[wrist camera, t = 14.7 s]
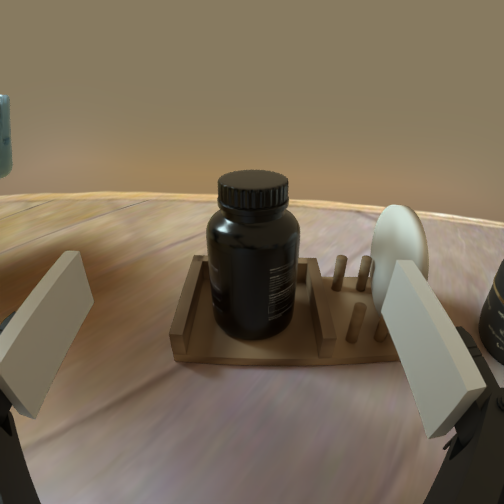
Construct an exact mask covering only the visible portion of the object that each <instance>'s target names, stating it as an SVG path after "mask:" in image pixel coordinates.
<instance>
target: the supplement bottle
mask: <svg viewBox="0 0 504 504" xmlns="http://www.w3.org/2000/svg"><path fill="white" fill-rule="evenodd" d="M217 201H218V207H219V208H220V210H219V211H217V212H216V213H215V214H214V215H213V216H212V217H211V219H210V220H209V222H208V225H207V228H206V239H207V252H208V264H209V276H210V287H211V297H212V306H213V314H214V318H215V321H216V323H217V324H218V326H219V327H220V328H221V329H222V330H223V331H224V332H226V333H227V334H229V335H231V336H233V337H236V338H239V339H243V340H263V339H268V338H271V337H273V336H276V335H278V334H279V333H281V332H282V331H284V330H285V329H286V328H287V327H288V325H289V324H290V322H291V320H292V317H293V312H294V304H295V293H296V282H297V270H298V258H299V245H300V226H299V223H298V221H297V220H296V218H295V217H294V215H293V214H292V213H291V212H289V211H288V210H287V209H286V208H287V207H288V204H289V197H288V178H286V177H285V176H284V175H282V174H279V173H275V172H271V171H265V170H241V171H234V172H230V173H227V174H224V175H223V176H221V177H220V178H219V180H218V198H217Z"/></svg>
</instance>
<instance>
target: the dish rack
mask: <svg viewBox="0 0 504 504" xmlns="http://www.w3.org/2000/svg"><path fill="white" fill-rule="evenodd" d="M396 260H413V262H414V263H415V265H416V266H417V267H418V269H419V270H420V272H421V273H422V275H423V276H424V278H425V280H426V281H427V280H428V270H429V256H428V246H427V240H426V235H425V232H424V229H423V226H422V223H421V221H420V219H419V217H418V216H417V214H416V213H415V212H414V210H412V209H411V208H410V207H408V206H403V205H390V206H388V207H386V208H385V209H384V210H383V212H382V213H381V215H380V217H379V219H378V221H377V224H376V227H375V230H374V234H373V239H372V246H371V255H370V256H363V257H362V260H361V265H360V270H359V274H358V277H344V274H345V269H346V263H347V257H346V256H344V255H338V256H337V259H336V265H335V271H334V276H333V277H321V273H320V270H319V266H318V262H317V259H316V258H298V270H297V282H296V293H295V304H294V312H293V317H292V320H291V322H290V324H289V325H288V327H287V328H286V329H285V330H284V331H282V332H281V333H279V334H278V335H276V336H273V337H271V338H268V339H263V340H243V339H239V338H236V337H233V336H231V335H229V334H227V333H226V332H224V331H223V330H222V329H221V328H220V327H219V326H218V324H217V323H216V321H215V318H214V314H213V306H212V297H211V287H210V276H209V264H208V256H202V255H194V257H193V260H192V263H191V266H190V269H189V272H188V275H187V278H186V281H185V284H184V287H183V290H182V293H181V296H180V300H179V303H178V306H177V309H176V312H175V316H174V319H173V322H172V325H171V329H170V332H169V337H170V341H171V346H172V351H173V355H174V360H175V361H181V362H194V363H210V364H230V365H263V366H306V365H340V364H359V363H374V362H387V361H399V360H400V358H399V355H398V353H397V350H396V347H395V345H394V342H393V340H392V337H391V335H390V332H389V330H388V327H387V325H386V323H385V320H384V318H383V315H382V313H381V310H382V306H383V303H384V300H385V297H386V294H387V291H388V288H389V284H390V281H391V278H392V274H393V271H394V268H395V264H396ZM369 272H370V277H368V276H369Z"/></svg>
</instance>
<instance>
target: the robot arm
mask: <svg viewBox="0 0 504 504" xmlns="http://www.w3.org/2000/svg"><path fill="white" fill-rule="evenodd" d="M11 170H12V148H11V129H10V99H9V96H8V95H0V179H1V178H3V177H6V176H7V175H8V174H9V173H10V172H11ZM93 304H94V299H93V296H92V293H91V290H90V286H89V283H88V280H87V276H86V273H85V269H84V266H83V262H82V258H81V255H80V251H65V252H64V253H63V254H62V255H61V256H60V257H59V259H58V260H57V261H56V262H55V263H54V265H53V266H52V267H51V268H50V269H49V271H48V272H47V273H46V274H45V276H44V277H43V278H42V279H41V280H40V282H39V283H38V284H37V286H36V287H35V288H34V289H33V291H32V292H31V293H30V295H29V296H28V297H27V298H26V300H25V301H24V302H23V304H22V305H21V306H20V308H19V309H18V311H17V312H13V313H12V314H11V315H9V316H8V317H7V318H6V319H5V320H4V321H3V322H2V324H1V325H0V504H41V503H40V500H39V498H38V495H37V493H36V490H35V488H34V485H33V482H32V479H31V477H30V474H29V471H28V468H27V465H26V462H25V459H24V455H23V452H22V449H21V445H20V442H19V438H18V434H17V431H16V427H15V423H14V418H13V416H12V414H11V412H10V411H9V410H10V408H11V406H12V405H13V406H14V408H15V409H16V410H17V411H18V412H19V414H21V415H24V416H26V417H29V418H32V419H36V417H37V415H38V412H39V410H40V408H41V405H42V403H43V401H44V399H45V397H46V394H47V392H48V390H49V388H50V386H51V384H52V382H53V380H54V377H55V375H56V373H57V371H58V369H59V367H60V365H61V363H62V361H63V359H64V357H65V355H66V353H67V351H68V349H69V348H70V346H71V344H72V342H73V340H74V338H75V336H76V334H77V332H78V331H79V329H80V327H81V325H82V323H83V321H84V320H85V318H86V316H87V314H88V312H89V311H90V309H91V307H92V305H93ZM381 313H382V315H383V318H384V320H385V323H386V325H387V327H388V330H389V332H390V335H391V337H392V340H393V342H394V345H395V347H396V350H397V353H398V355H399V358H400V360H401V363H402V366H403V368H404V371H405V374H406V376H407V379H408V382H409V385H410V387H411V390H412V393H413V396H414V399H415V402H416V405H417V408H418V411H419V414H420V417H421V420H422V423H423V426H424V429H425V432H426V435H427V439H431V438H435V437H440V436H443V435H446V434H447V433H448V432H449V431H450V430H451V429H452V428H453V427H454V426H455V429H456V432H457V433H456V434H455V435H454V436H453V438H452V439H451V440H450V441H449V442H448V443H447V444H446V445H445V446H444V448H443V449H444V450H446V449H447V448H448V447H449V446H450V447H449V449H448V452H447V454H446V457H445V459H444V461H443V463H442V466H441V468H440V470H439V472H438V475H437V477H436V479H435V481H434V483H433V485H432V487H431V489H430V491H429V493H428V495H427V497H426V499H425V501H424V503H423V504H504V388H500V387H499V385H498V383H497V381H496V380H495V378H494V376H493V374H492V372H491V370H490V368H489V366H488V364H487V363H486V361H485V359H484V357H482V354H481V352H480V350H479V348H477V345H476V343H475V341H474V340H473V338H472V336H471V335H470V334H469V333H468V332H467V331H466V330H465V329H464V328H463V327H455V326H454V325H453V323H452V321H451V320H450V318H449V316H448V315H447V313H446V311H445V310H444V308H443V306H442V305H441V303H440V301H439V300H438V298H437V297H436V295H435V293H434V292H433V290H432V289H431V287H430V286H429V284H428V283H427V281H426V280H425V278H424V276H423V275H422V273H421V272H420V270H419V269H418V267H417V266H416V265H415V263H414V262H413V260H396V264H395V268H394V271H393V274H392V278H391V281H390V284H389V288H388V291H387V294H386V297H385V300H384V303H383V306H382V310H381Z"/></svg>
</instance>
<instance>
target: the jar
mask: <svg viewBox="0 0 504 504" xmlns="http://www.w3.org/2000/svg"><path fill="white" fill-rule="evenodd" d="M479 333H480V337H481V340H482V342H483V344H484V346H485V348H486V349H487V351H488V352H489V353H490V354H491V355H492V356H493V357H494V358H495V359H496V360H497V361H498V362H500V363H501V364H503V365H504V259H503V261H502V263H501V265H500V267H499V269H498V272H497V273H496V275H495V277H494V280H493V285H492V287H491V290H490V292H489V294H488V296H487V299H486V301H485V303H484V305H483V308H482V311H481V315H480V320H479Z"/></svg>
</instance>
